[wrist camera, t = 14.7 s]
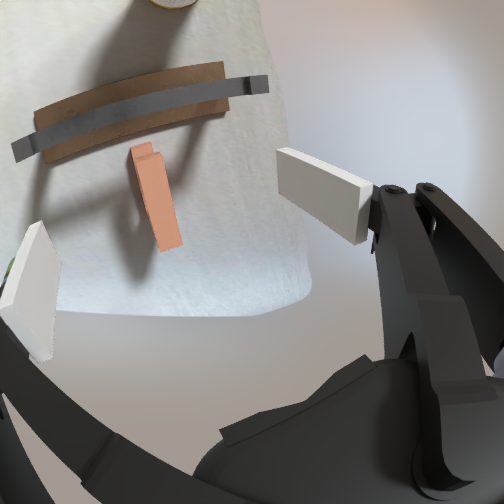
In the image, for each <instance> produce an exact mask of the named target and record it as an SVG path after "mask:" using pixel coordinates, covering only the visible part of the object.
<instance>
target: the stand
mask: <svg viewBox="0 0 504 504" xmlns="http://www.w3.org/2000/svg"><path fill="white" fill-rule="evenodd" d="M262 93H269V85H268V75H259V76H248V77H239V78H231V79H225V72H224V64H223V61H220V62H212V63H204V64H197V65H191V66H185V67H179V68H174V69H168V70H163V71H159V72H154V73H149V74H145V75H141V76H137V77H133V78H129V79H125V80H121V81H118V82H114V83H111V84H107V85H104V86H101V87H98V88H95V89H92V90H88V91H86V92H83V93H80V94H77V95H74V96H71V97H69V98H66V99H63V100H61V101H58V102H56V103H53V104H51V105H48V106H46V107H44V108H41V109H39V110H37V111H35V112H34V116H35V121H36V125H37V129H38V131H37V132H35V133H32V134H30V135H28V136H26V137H24V138H21V139H19V140H17V141H15V142H13V143H11V146H12V149H13V153H14V157H15V160H16V163H18V162H20V161H22V160H24V159H26V158H28V157H30V156H32V155H34V154H36V153H38V152H40V151H42V150H43V153H44V157H45V160H46V164H48V163H50V162H53V161H55V160H58V159H60V158H62V157H65V156H67V155H70V154H73V153H75V152H78V151H81V150H83V149H86V148H89V147H92V146H95V145H97V144H100V143H103V142H106V141H109V140H112V139H115V138H119V137H122V136H125V135H128V134H132V133H135V132H139V131H142V130H146V129H149V128H153V127H157V126H161V125H165V124H169V123H173V122H177V121H181V120H186V119H190V118H195V117H199V116H204V115H209V114H214V113H220V112H225V111H230V110H229V102H228V97H234V96H241V95H253V94H262Z"/></svg>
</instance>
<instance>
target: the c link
mask: <svg viewBox="0 0 504 504" xmlns="http://www.w3.org/2000/svg"><path fill="white" fill-rule="evenodd" d="M130 149H131V153H132V157H133V162H134V166H135V170H136V174H137V178H138V182H139V186H140V190H141V194H142V198H143V201H144V205H145V209H146V212H147V216H148V219H149V222H150V225H151V228H152V231H153V233H154V236H155V239H156V242H157V245H158V247H159V250H160V252H163V251H166V250H169V249H172V248H175V247H178V246H181V245H183V243H182V239H181V235H180V231H179V227H178V223H177V219H176V214H175V210H174V206H173V202H172V197H171V193H170V189H169V184H168V179H167V175H166V170H165V165H164V161H163V156H162V154H161V153H160V152H157V153H154V152H153V147H152V144H151V142H147V143H143V144H140V145H136V146H133V147H130Z"/></svg>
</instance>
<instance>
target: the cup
mask: <svg viewBox="0 0 504 504" xmlns="http://www.w3.org/2000/svg"><path fill="white" fill-rule="evenodd" d="M150 1H151V2H152V3H154V4H156V5H157V6H160V7H163V8H168V9H176V8H183V7H185V6H188V5H191V4H193V3H194V2H195V1H196V0H150Z"/></svg>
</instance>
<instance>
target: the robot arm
mask: <svg viewBox="0 0 504 504" xmlns="http://www.w3.org/2000/svg"><path fill="white" fill-rule="evenodd" d="M276 156H277V173H278V191H279V194H280V195H282V196H283V197H285V198H286V199H288V200H289V201H291V202H293V203H294V204H296V205H297V206H298V207H300V208H301V209H303V210H305V211H306V212H307V213H309V214H310V215H312V216H313V217H315V218H316V219H318V220H319V221H321V222H322V223H323V224H325V225H326V226H328V227H329V228H331V229H332V230H333V231H335V232H336V233H338V234H339V235H341V236H342V237H343V238H345V239H346V240H348V241H349V242H350V243H352V244H353V245H357V244H359V243H362V242H364V241H366V240H367V234H368V228H369V229H371V230H372V231H374V236H373V243H372V249H371V254H373V252H374V251H375V255H376V263H377V270H378V278H379V287H380V297H381V307H382V317H383V318H382V319H383V331H384V348H385V349H384V350H385V358H384V360H379V361H374V362H372V361H371V360H370V359H369V358H368V357H367V356H366V355H365V354H364V355H363V356H361V357H360V358H358V359H356V360H355V361H353V362H352V363H350V364H348V365H347V366H345V367H343V368H342V369H340V370H338V371H337V372H335V373H334V374H333V375H332V376H331V377H330V378H329V379H328V380H327V381H326V382H325V383H324V384H323V385H322V386H321V387H320V388H319V389H318V390H317V391H316V392H315V393H314V394H312V395H311V396H310V397H309V398H308V399H307V400H305V401H303V402H300V403H297V404H293V405H289V406H285V407H281V408H277V409H272V410H268V411H263V412H259V413H257V414H254V415H252V416H250V417H248V418H245V419H243V420H241V421H238V422H236V423H234V424H231V425H229V426H227V427H224V428H222V429H219V431H220V433H221V435H222V437H223V440H221V441H220V442H219V443H217V444H216V445H215V446H214V447H213V448H212V449H210V450H209V451H208V452H207V453H206V455H205V456H204V457H203V458H202V459H201V461H200V462H199V464H198V466H197V467H196V469H195V471H194V473H193V476H190V475H188V474H186V473H184V472H182V471H180V470H178V469H176V468H174V467H173V466H171V465H169V464H167V463H165V462H164V461H162V460H160V459H158V458H157V457H155V456H153V455H151V454H150V453H148V452H146V451H145V450H143V449H141V448H140V447H138V446H137V445H135V444H133V443H132V442H130V441H129V440H127V439H126V438H124V437H123V436H121V435H120V434H118V433H115V432H113V431H112V430H110V429H109V428H108V427H106V426H105V425H104V424H102V423H101V422H99V421H98V420H97V419H95V418H94V417H93V416H92V415H90V414H89V413H88V412H86V411H85V410H84V409H83V408H82V407H80V406H79V405H78V404H77V403H75V402H74V401H73V400H72V399H71V398H70V397H68V396H67V395H66V394H65V393H63V391H62V390H60V389H59V388H58V387H57V386H56V385H55V384H54V383H53V382H52V381H51V380H50V379H48V378H47V377H46V376H45V375H44V374H43V373H42V372H41V371H40V370H39V369H38V368H37V367H36V366H35V365H34V364H33V363H32V362H31V361H30V360H29V354H30V355H31V356H32V358H33V359H34V360H35V361H36V362H37V363H41V362H44V361H47V360H50V359H52V358H53V337H54V322H55V311H56V301H57V293H58V285H59V278H60V271H61V265H62V264H61V262H60V260H59V258H58V256H57V254H56V252H55V250H54V247H53V245H52V243H51V241H50V238H49V236H48V234H47V231H46V229H45V227H44V224H43V222H42V220H41V221H38V222H36V223H34V224H31V225H30V226H29V228H28V230H27V232H26V234H25V237H24V239H23V241H22V243H21V246H20V248H19V250H18V253H17V255H16V258H15V260H14V262H13V265H12V268H11V270H10V273H9V276H8V278H7V280H5V282H4V283H3V284H2V286H1V287H0V504H55V503H54V501H53V500H52V498H51V496H50V495H49V493H48V492H47V490H46V489H45V487H44V485H43V483H42V482H41V480H40V478H39V477H38V475H37V473H36V471H35V469H34V468H33V466H32V464H31V462H30V460H29V458H28V456H27V454H26V452H25V450H24V448H23V446H22V444H21V442H20V439H19V437H18V435H17V433H16V430H15V428H14V426H13V423H12V421H11V419H10V416H9V413H8V411H7V408H6V405H5V403H4V400H3V397H2V393H4V394H5V395H6V396H7V398H8V399H9V401H10V402H11V403H12V405H13V406H14V407H15V409H16V410H17V411H18V413H19V414H20V415H21V416H22V417H23V419H24V420H25V421H26V423H27V424H28V425H29V426H30V427H31V428H32V430H33V431H34V432H35V433H36V434H37V435H38V437H39V438H40V439H41V440H42V441H43V442H44V443H45V444H46V445H47V446H48V447H49V449H51V451H52V452H54V454H55V455H56V456H57V457H58V458H59V459H60V460H61V461H62V462H63V463H64V464H65V465H67V467H69V468H70V469H71V470H72V471H73V472H74V473H75V474H76V475H77V476H78V477H79V478H80V479H81V480H82V482H81V485H82V486H83V487H84V488H85V489H86V490H87V491H88V492H89V493H90V494H91V495H92V496H93V497H95V498H96V499H97V500H98V501H100V502H101V503H102V504H504V251H503V250H502V249H501V248H500V247H499V245H498V244H497V243H496V242H495V241H494V240H493V239H492V238H491V237H490V236H489V235H488V234H487V233H486V232H485V231H484V230H483V229H482V228H481V227H480V226H479V225H478V224H477V223H476V222H475V221H474V220H473V219H472V218H471V217H470V216H469V215H468V214H467V213H466V212H465V211H464V210H463V209H462V208H461V207H460V206H459V205H458V204H457V203H455V202H454V201H453V200H452V199H451V198H450V197H449V196H448V195H447V194H445V193H444V192H443V191H442V190H441V189H440V188H438V187H437V186H434V185H433V184H431V183H418V184H417V185H416V191H415V193H411V194H408V193H407V191H406V190H405V189H404V188H401V187H398V186H396V185H384V186H381V187H380V188H379V187H377V186H375V185H373V184H372V183H370V182H368V181H366V180H364V179H362V178H359V177H357V176H355V175H353V174H351V173H349V172H346V171H344V170H342V169H339V168H337V167H335V166H333V165H330V164H328V163H325V162H323V161H321V160H319V159H316V158H313V157H311V156H309V155H306V154H304V153H301V152H299V151H296V150H294V149H291V148H288V147H286V148H281V149H276ZM435 221H436V227H435V230H434V225H435ZM481 355H482V357H483V358H484V360H485V361H486V363H487V364H488V366H489V367H490V368H491V369H492V371H493V372H494V375H493V376H492V377H491V376H486V374H485V370H484V365H483V361H482V357H481Z"/></svg>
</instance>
